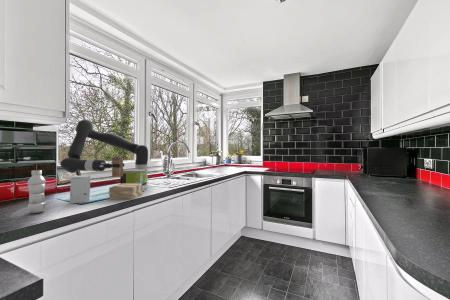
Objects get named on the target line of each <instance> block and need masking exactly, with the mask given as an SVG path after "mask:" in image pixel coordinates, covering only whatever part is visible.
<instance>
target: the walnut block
mask: <svg viewBox="0 0 450 300" xmlns="http://www.w3.org/2000/svg"><path fill="white" fill-rule="evenodd" d="M111 162H112V163H113V164H120V167H114V168H111V177H112V178H119V177H121V176H123V171H124V167H123V163H124V157H122V156H121V155H114V157H111Z"/></svg>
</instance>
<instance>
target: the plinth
mask: <svg viewBox="0 0 450 300" xmlns="http://www.w3.org/2000/svg"><path fill="white" fill-rule="evenodd" d="M108 189H109V190H108V191H109V192H108V193H109V195H108V198H109V200H134V199H136V198H138V197H140V196H142V195H143V190H142V184H140V183H122V184H120V183H119V184H116V185H113V186H110V187H109V188H108Z"/></svg>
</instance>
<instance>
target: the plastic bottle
mask: <svg viewBox="0 0 450 300" xmlns="http://www.w3.org/2000/svg"><path fill="white" fill-rule="evenodd" d="M42 171H43V170H41V169H36V170H31V176H30V178H28V180H27V187H28V195H29V198H28V205H27V213H29V214H39V213H42V212H44V211H46V209H47V203H46V198H45V188H46V182H47V181H46V179H45V177H44V176H43V175H42V174H43V172H42Z"/></svg>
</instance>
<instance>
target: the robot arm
mask: <svg viewBox="0 0 450 300" xmlns="http://www.w3.org/2000/svg"><path fill="white" fill-rule="evenodd" d="M93 128H94V125H93V123H92V122H91V121H90V120H89V119H81V120H79V122H77V125H76V128H75V132H76V134H75V137H74V139H73V141H72V142H71V144H70V147H69V149H68V152H67V156H68V157H65V158H63V159H62V160H61V161H60V167H61V168H62V169H64V170H66V171H67V172H68V173H70V174H73V173H74V174H75V173H77V172H78V171H82V172H104V171H105V170H106V169H112V168H114V167H120V164H113V163H112V161H107V162H106V160H105V159H102V158H101V159H98V158H97V159H94V158H93V159H81V156H82V153H83V151H84V148H85V144H86V140H87V138H89V139H90V140H91V139H92V140H96V141H98V142H101V143H104V144H107V145H109V146H112V147H114V148H118V149H121V150H124V151H127V152H130V153H133V154H134V155H135V168H134V170H146V186H148V161H149V149H148V147H147V145H144V144H138V143H134V142H131V141H130V140H128V139H126V138H124V137H123V136H120V135H118V134H116V133H112V132H101V131H97V130H95V129H93ZM124 167H125V162H123V168H124Z"/></svg>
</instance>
